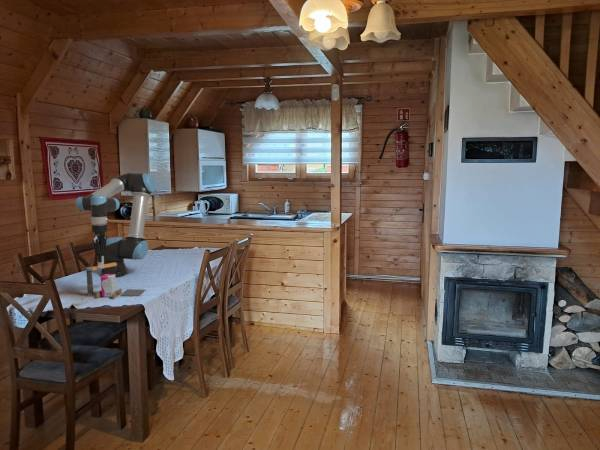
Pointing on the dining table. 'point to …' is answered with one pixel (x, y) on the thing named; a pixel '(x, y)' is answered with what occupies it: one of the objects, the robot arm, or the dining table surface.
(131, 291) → the pad
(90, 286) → the socket
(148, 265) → the dining table surface
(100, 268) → the clip
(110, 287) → the supplement box
